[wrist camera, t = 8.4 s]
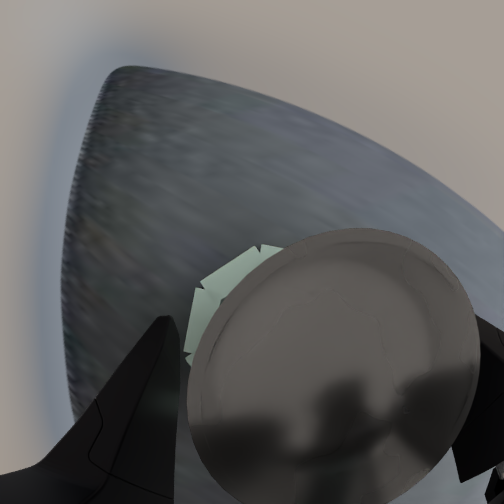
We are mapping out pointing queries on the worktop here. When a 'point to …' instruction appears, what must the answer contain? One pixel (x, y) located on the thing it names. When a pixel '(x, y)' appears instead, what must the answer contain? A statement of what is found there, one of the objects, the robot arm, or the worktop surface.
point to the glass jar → (334, 372)
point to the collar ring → (220, 292)
